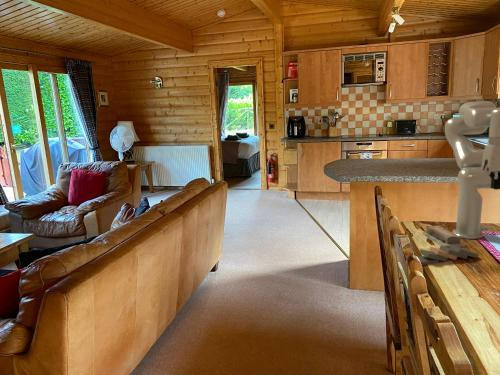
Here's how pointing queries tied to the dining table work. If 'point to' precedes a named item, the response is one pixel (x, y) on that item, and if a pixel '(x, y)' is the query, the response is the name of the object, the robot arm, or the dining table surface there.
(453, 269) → the dining table surface
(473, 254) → the domino
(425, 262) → the domino
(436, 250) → the domino
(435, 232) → the packaged product
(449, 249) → the domino
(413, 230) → the dining table surface
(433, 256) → the domino
